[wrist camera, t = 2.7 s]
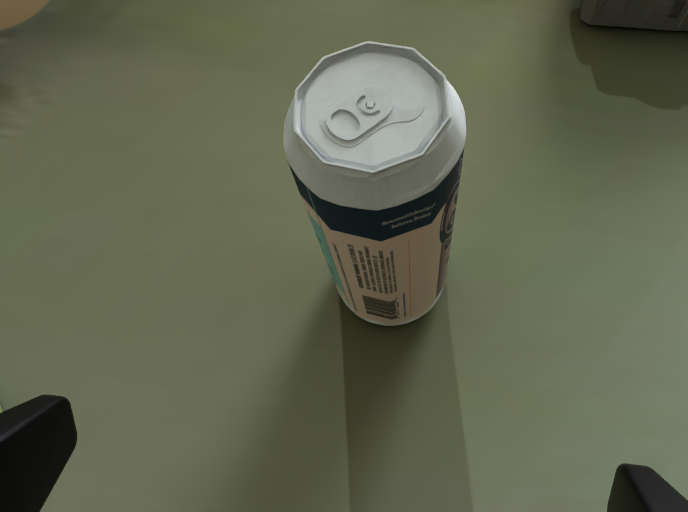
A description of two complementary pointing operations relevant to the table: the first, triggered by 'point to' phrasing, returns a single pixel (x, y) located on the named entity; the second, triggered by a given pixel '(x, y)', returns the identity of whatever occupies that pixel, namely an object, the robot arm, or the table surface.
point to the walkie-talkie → (637, 13)
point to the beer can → (379, 175)
